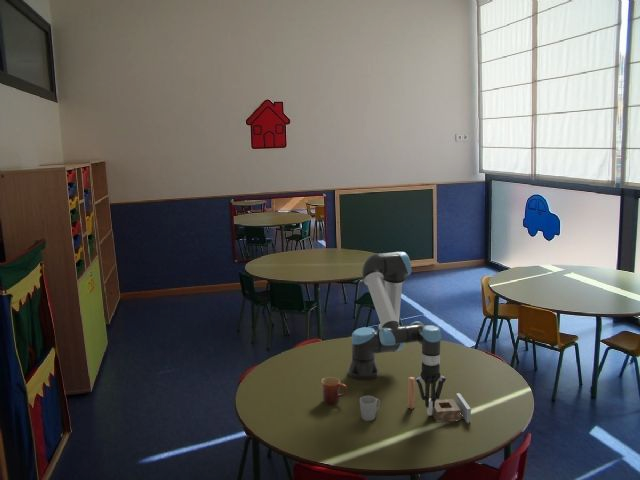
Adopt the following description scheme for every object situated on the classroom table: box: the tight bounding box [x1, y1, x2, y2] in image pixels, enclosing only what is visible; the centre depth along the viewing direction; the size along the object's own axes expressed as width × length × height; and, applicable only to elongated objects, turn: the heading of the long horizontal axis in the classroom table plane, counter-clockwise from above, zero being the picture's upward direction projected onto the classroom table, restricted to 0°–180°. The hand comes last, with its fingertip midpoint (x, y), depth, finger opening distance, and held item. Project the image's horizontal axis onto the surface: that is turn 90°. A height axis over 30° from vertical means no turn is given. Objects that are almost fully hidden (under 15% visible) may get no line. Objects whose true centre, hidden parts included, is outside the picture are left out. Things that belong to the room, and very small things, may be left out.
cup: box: [359, 395, 381, 422], centre depth 237 cm, size 8×10×8 cm
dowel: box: [407, 376, 416, 410], centre depth 243 cm, size 3×3×14 cm
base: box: [455, 392, 472, 423], centre depth 237 cm, size 2×14×6 cm, turn 5°
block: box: [432, 398, 461, 423], centre depth 237 cm, size 10×10×5 cm
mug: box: [320, 376, 348, 406], centre depth 250 cm, size 12×9×10 cm
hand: (429, 413), depth 236 cm, fingers closed
